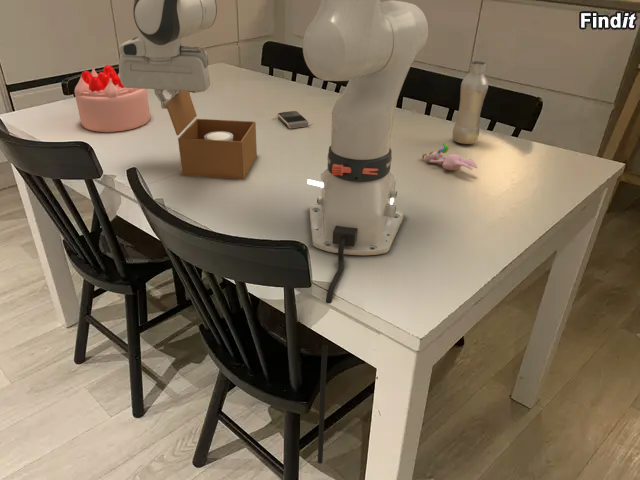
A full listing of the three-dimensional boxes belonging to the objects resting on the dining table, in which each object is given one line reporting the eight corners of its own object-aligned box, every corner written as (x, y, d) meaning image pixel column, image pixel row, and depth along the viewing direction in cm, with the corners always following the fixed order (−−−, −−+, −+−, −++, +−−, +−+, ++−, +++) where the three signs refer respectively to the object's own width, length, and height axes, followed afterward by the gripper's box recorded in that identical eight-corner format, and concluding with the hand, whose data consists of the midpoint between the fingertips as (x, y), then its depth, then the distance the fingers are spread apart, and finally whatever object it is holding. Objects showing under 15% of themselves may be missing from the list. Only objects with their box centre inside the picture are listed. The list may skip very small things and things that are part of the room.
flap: (167, 103, 122) (165, 104, 122) (178, 135, 126) (176, 135, 126) (187, 86, 133) (185, 86, 133) (196, 115, 137) (195, 116, 137)
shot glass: (240, 161, 136) (239, 134, 132) (223, 171, 132) (221, 143, 128) (218, 156, 139) (216, 128, 136) (200, 165, 135) (197, 137, 131)
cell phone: (296, 115, 166) (296, 110, 165) (309, 127, 158) (309, 122, 157) (276, 117, 165) (276, 112, 164) (288, 129, 156) (288, 124, 155)
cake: (161, 123, 161) (154, 72, 153) (93, 138, 152) (82, 85, 144) (135, 106, 175) (128, 58, 167) (71, 119, 165) (60, 69, 157)
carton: (243, 179, 129) (241, 142, 124) (182, 175, 131) (177, 138, 126) (256, 156, 140) (255, 121, 135) (200, 153, 142) (196, 118, 137)
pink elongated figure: (416, 167, 137) (464, 178, 125) (416, 142, 134) (465, 152, 123) (435, 161, 140) (483, 172, 128) (435, 137, 137) (485, 146, 125)
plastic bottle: (459, 136, 150) (472, 58, 139) (482, 142, 146) (497, 62, 135) (446, 142, 147) (458, 63, 136) (469, 149, 143) (484, 67, 132)
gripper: (211, 43, 123) (215, 106, 131) (123, 40, 126) (132, 101, 134) (202, 50, 118) (207, 115, 126) (111, 46, 121) (121, 110, 129)
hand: (168, 108), depth 130 cm, fingers closed
